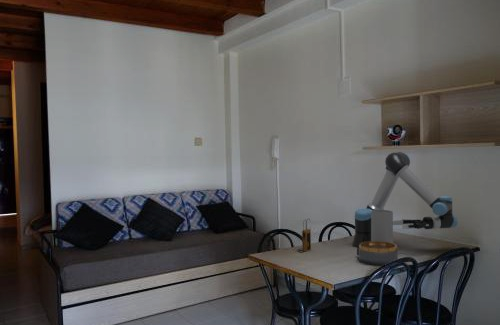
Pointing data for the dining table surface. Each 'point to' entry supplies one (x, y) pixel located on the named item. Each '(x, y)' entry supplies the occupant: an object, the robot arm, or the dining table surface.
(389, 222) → the cylinder vase
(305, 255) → the dining table surface
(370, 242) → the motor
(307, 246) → the multimeter
